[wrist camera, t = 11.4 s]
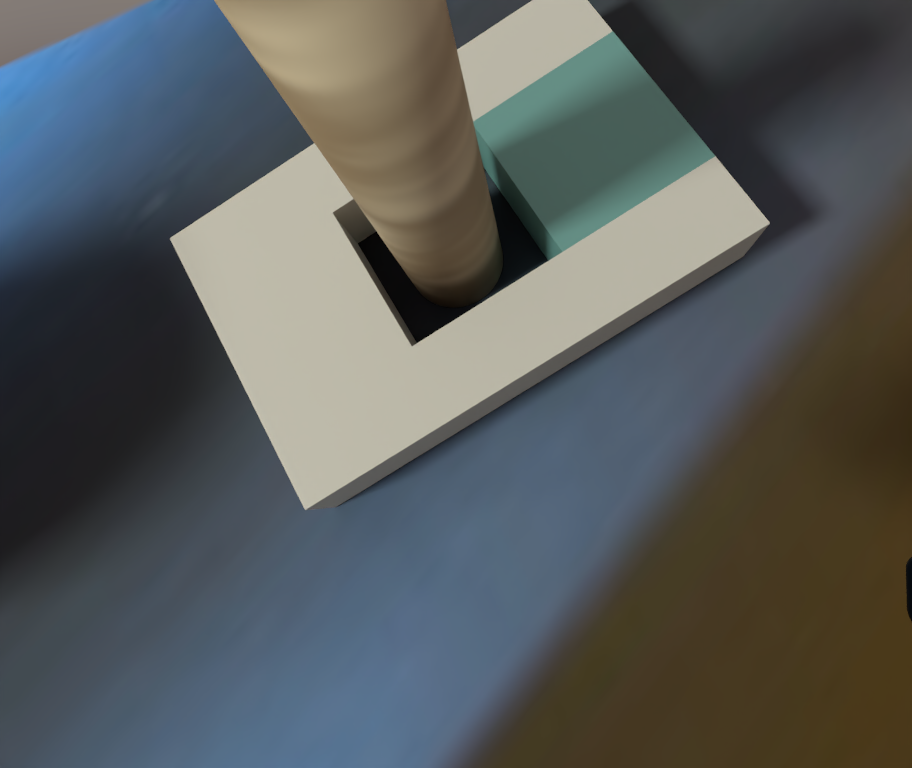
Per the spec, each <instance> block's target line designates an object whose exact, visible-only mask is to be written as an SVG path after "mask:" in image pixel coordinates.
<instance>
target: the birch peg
mask: <svg viewBox="0 0 912 768" xmlns="http://www.w3.org/2000/svg"><path fill="white" fill-rule="evenodd" d="M214 1H215V2H216V4H217V5H218V6H219V8H220V9H221V11H222V12H223V13H224V15H225V16H226V18H227V19H228V21H229V22H230V23H231V25H232V26H233V28H234V29H235V31H236V32H237V33H238V35H239V36H240V38H241V39H242V41H243V42H244V43H245V45H246V46H247V48H248V49H249V51H250V52H251V53H252V55H253V56H254V58H255V59H256V60H257V62H258V63H259V65H260V66H261V68H262V69H263V70H264V72H265V73H266V75H267V76H268V78H269V79H270V80H271V82H272V83H273V85H274V86H275V88H276V89H277V90H278V92H279V93H280V95H281V96H282V98H283V99H284V100H285V102H286V103H287V105H288V106H289V108H290V109H291V110H292V112H293V113H294V115H295V116H296V117H297V119H298V120H299V122H300V123H301V125H302V126H303V127H304V129H305V130H306V132H307V133H308V135H309V136H310V137H311V139H312V140H313V142H314V143H315V145H316V146H317V147H318V149H319V150H320V152H321V153H322V155H323V156H324V157H325V159H326V160H327V162H328V163H329V164H330V166H331V167H332V169H333V170H334V172H335V173H336V174H337V176H338V177H339V179H340V180H341V182H342V183H343V184H344V186H345V187H346V189H347V190H348V192H349V193H350V194H351V196H352V197H353V199H354V200H355V202H356V203H357V204H358V206H359V207H360V209H361V210H362V211H363V213H364V214H365V216H366V217H367V219H368V220H369V221H370V223H371V224H372V226H373V227H374V229H375V230H376V231H377V233H378V234H379V236H380V237H381V239H382V240H383V241H384V243H385V244H386V246H387V247H388V249H389V250H390V251H391V253H392V254H393V256H394V257H395V259H396V260H397V261H398V263H399V264H400V266H401V267H402V268H403V270H404V271H405V273H406V274H407V276H408V277H409V278H410V280H411V281H412V283H413V284H414V286H415V287H416V288H417V290H418V291H419V293H420V294H421V295H422V296H423V297H425V298H426V299H427V300H429V301H430V302H432V303H434V304H436V305H439V306H443V307H449V308H458V307H464V306H468V305H471V304H474V303H476V302H478V301H479V300H481V299H482V298H484V297H485V296H486V295H487V294H488V293H490V291H491V290H492V289H493V288H494V287H495V285H496V284H497V282H498V280H499V278H500V275H501V272H502V268H503V251H502V247H501V242H500V238H499V234H498V229H497V225H496V220H495V216H494V212H493V207H492V203H491V198H490V194H489V189H488V185H487V181H486V176H485V172H484V167H483V163H482V159H481V154H480V150H479V145H478V141H477V136H476V132H475V128H474V123H473V119H472V114H471V110H470V106H469V101H468V97H467V92H466V88H465V83H464V79H463V75H462V70H461V66H460V61H459V57H458V53H457V48H456V44H455V39H454V35H453V30H452V26H451V22H450V17H449V13H448V8H447V4H446V0H214Z"/></svg>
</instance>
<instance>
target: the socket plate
mask: <svg viewBox="0 0 912 768" xmlns="http://www.w3.org/2000/svg"><path fill="white" fill-rule="evenodd" d="M457 53H458V57H459V61H460V66H461V70H462V75H463V79H464V83H465V88H466V92H467V97H468V101H469V106H470V110H471V114H472V119H473V123H474V128H475V132H476V136H477V141H478V145H479V150H480V154H481V159H482V163H483V167H484V168H485V170H486V171H487V173H488V174H489V176H490V177H491V179H492V180H493V182H494V183H495V184H496V186H497V187H498V189H499V190H500V192H501V193H502V195H503V196H504V197H505V199H506V200H507V202H508V203H509V205H510V206H511V208H512V209H513V211H514V212H515V213H516V215H517V216H518V218H519V219H520V221H521V222H522V224H523V225H524V227H525V228H526V229H527V231H528V232H529V234H530V235H531V237H532V238H533V240H534V241H535V242H536V244H537V245H538V247H539V248H540V250H541V251H542V253H543V254H544V256H545V257H546V258H547V260H548V261H547V262H546V263H544V264H543V265H541V266H539V267H538V268H536V269H535V270H533V271H531V272H530V273H528V274H527V275H525V276H523V277H522V278H520V279H519V280H517V281H516V282H514V283H512V284H511V285H509V286H508V287H506V288H504V289H503V290H501V291H500V292H498V293H496V294H495V295H493V296H492V297H490V298H488V299H487V300H485V301H484V302H482V303H480V304H479V305H477V306H476V307H474V308H472V309H471V310H469V311H468V312H466V313H464V314H463V315H461V316H460V317H458V318H457V319H455V320H453V321H452V322H450V323H449V324H447V325H445V326H444V327H442V328H441V329H439V330H437V331H436V332H434V333H433V334H431V335H429V336H428V337H426V338H425V339H423V340H421V341H420V342H418V343H417V342H416V341H415V339H414V337H413V336H412V334H411V332H410V331H409V329H408V327H407V325H406V324H405V322H404V320H403V319H402V317H401V315H400V314H399V312H398V310H397V309H396V307H395V305H394V304H393V302H392V300H391V299H390V297H389V295H388V294H387V292H386V290H385V289H384V287H383V285H382V283H381V282H380V280H379V278H378V277H377V275H376V273H375V272H374V270H373V268H372V267H371V265H370V263H369V262H368V260H367V258H366V257H365V255H364V253H363V252H362V250H361V248H360V247H359V245H358V243H359V242H361V241H362V240H364V239H366V238H367V237H369V236H370V235H372V234H373V233H375V232H376V230H375V229H374V227H373V226H372V224H371V223H370V221H369V220H368V219H367V217H366V216H365V214H364V213H363V211H362V210H361V209H360V207H359V206H358V204H357V203H356V202H355V200H354V199H353V197H352V196H351V194H350V193H349V192H348V190H347V189H346V187H345V186H344V184H343V183H342V182H341V180H340V179H339V177H338V176H337V174H336V173H335V172H334V170H333V169H332V167H331V166H330V164H329V163H328V162H327V160H326V159H325V157H324V156H323V155H322V153H321V152H320V150H319V149H318V147H317V146H316V145H315V143H314V144H313V145H311V146H310V147H308V148H307V149H305V150H304V151H302V152H301V153H299V154H297V155H296V156H294V157H293V158H291V159H290V160H288V161H287V162H285V163H284V164H282V165H281V166H279V167H278V168H276V169H275V170H273V171H272V172H270V173H269V174H267V175H265V176H264V177H262V178H261V179H259V180H258V181H256V182H255V183H253V184H252V185H250V186H249V187H247V188H246V189H244V190H243V191H241V192H240V193H238V194H236V195H235V196H233V197H232V198H230V199H229V200H227V201H226V202H224V203H223V204H221V205H220V206H218V207H217V208H215V209H214V210H212V211H211V212H209V213H208V214H206V215H204V216H203V217H201V218H200V219H198V220H197V221H195V222H194V223H192V224H191V225H189V226H188V227H186V228H185V229H183V230H182V231H180V232H179V233H177V234H176V235H174V236H172V237H171V238H170V240H171V242H172V244H173V246H174V248H175V250H176V252H177V254H178V256H179V258H180V260H181V262H182V264H183V266H184V268H185V270H186V272H187V274H188V276H189V278H190V280H191V282H192V284H193V286H194V288H195V290H196V292H197V294H198V296H199V298H200V300H201V302H202V304H203V306H204V308H205V310H206V312H207V314H208V316H209V318H210V320H211V322H212V324H213V326H214V328H215V330H216V332H217V334H218V336H219V338H220V340H221V342H222V344H223V346H224V348H225V350H226V352H227V354H228V356H229V358H230V360H231V362H232V364H233V366H234V368H235V370H236V372H237V374H238V376H239V378H240V380H241V382H242V384H243V386H244V388H245V390H246V392H247V394H248V396H249V398H250V400H251V402H252V404H253V406H254V408H255V410H256V412H257V414H258V416H259V418H260V420H261V422H262V424H263V426H264V428H265V430H266V432H267V434H268V436H269V438H270V441H271V443H272V445H273V447H274V449H275V451H276V453H277V455H278V457H279V459H280V461H281V463H282V465H283V467H284V469H285V471H286V473H287V475H288V477H289V479H290V481H291V483H292V485H293V487H294V489H295V491H296V493H297V495H298V497H299V499H300V501H301V503H302V505H303V507H304V509H305V510H311V509H322V508H333V507H337V506H339V505H340V504H342V503H343V502H345V501H347V500H348V499H350V498H352V497H353V496H355V495H356V494H358V493H360V492H361V491H363V490H365V489H366V488H368V487H369V486H371V485H373V484H374V483H376V482H378V481H379V480H381V479H382V478H384V477H386V476H387V475H389V474H391V473H392V472H394V471H395V470H397V469H399V468H400V467H402V466H404V465H405V464H407V463H408V462H410V461H412V460H413V459H415V458H417V457H418V456H420V455H421V454H423V453H425V452H426V451H428V450H430V449H431V448H433V447H434V446H436V445H438V444H439V443H441V442H443V441H444V440H446V439H447V438H449V437H451V436H452V435H454V434H456V433H457V432H459V431H460V430H462V429H464V428H465V427H467V426H469V425H470V424H472V423H474V422H475V421H477V420H478V419H480V418H482V417H483V416H485V415H487V414H488V413H490V412H491V411H493V410H495V409H496V408H498V407H500V406H501V405H503V404H504V403H506V402H508V401H509V400H511V399H513V398H514V397H516V396H517V395H519V394H521V393H522V392H524V391H526V390H527V389H529V388H530V387H532V386H534V385H535V384H537V383H539V382H540V381H542V380H543V379H545V378H547V377H548V376H550V375H552V374H553V373H555V372H556V371H558V370H560V369H561V368H563V367H565V366H566V365H568V364H569V363H571V362H573V361H574V360H576V359H578V358H579V357H581V356H582V355H584V354H586V353H587V352H589V351H591V350H592V349H594V348H595V347H597V346H599V345H600V344H602V343H604V342H605V341H607V340H608V339H610V338H612V337H613V336H615V335H617V334H618V333H620V332H621V331H623V330H625V329H626V328H628V327H630V326H631V325H633V324H634V323H636V322H638V321H639V320H641V319H643V318H644V317H646V316H648V315H649V314H651V313H652V312H654V311H656V310H657V309H659V308H661V307H662V306H664V305H665V304H667V303H669V302H670V301H672V300H674V299H675V298H677V297H678V296H680V295H682V294H683V293H685V292H687V291H688V290H690V289H691V288H693V287H695V286H696V285H698V284H700V283H701V282H703V281H704V280H706V279H708V278H709V277H711V276H713V275H714V274H716V273H717V272H719V271H721V270H722V269H724V268H726V267H727V266H729V265H730V264H732V263H734V262H735V261H737V260H739V259H740V258H742V257H743V256H744V255H745V254H746V252H747V251H748V250H749V249H750V248H751V246H752V245H753V244H754V243H755V241H756V240H757V239H758V238H759V236H760V235H761V234H762V233H763V232H764V230H765V229H766V228H767V227H768V225H769V224H770V222H769V221H768V220H767V219H766V217H765V216H764V215H763V214H762V212H761V211H760V210H759V209H758V208H757V206H756V205H755V204H754V203H753V201H752V200H751V199H750V198H749V197H748V195H747V194H746V193H745V192H744V191H743V189H742V188H741V187H740V186H739V184H738V183H737V182H736V181H735V180H734V178H733V177H732V176H731V175H730V173H729V172H728V171H727V170H726V169H725V167H724V166H723V165H722V164H721V162H720V161H719V160H718V159H717V158H716V156H715V155H714V154H713V153H712V151H711V150H710V149H709V148H708V147H707V145H706V144H705V143H704V142H703V141H702V139H701V138H700V137H699V136H698V134H697V133H696V132H695V131H694V130H693V128H692V127H691V126H690V125H689V123H688V122H687V121H686V120H685V119H684V117H683V116H682V115H681V114H680V112H679V111H678V110H677V109H676V108H675V106H674V105H673V104H672V103H671V101H670V100H669V99H668V98H667V97H666V95H665V94H664V93H663V92H662V91H661V89H660V88H659V87H658V86H657V84H656V83H655V82H654V81H653V80H652V78H651V77H650V76H649V75H648V73H647V72H646V71H645V70H644V69H643V67H642V66H641V65H640V64H639V62H638V61H637V60H636V59H635V58H634V56H633V55H632V54H631V53H630V51H629V50H628V49H627V48H626V47H625V45H624V44H623V43H622V42H621V41H620V39H619V38H618V37H617V36H616V34H615V33H614V32H613V31H612V30H611V28H610V27H609V26H608V25H607V23H606V22H605V21H604V20H603V19H602V17H601V16H600V15H599V14H598V12H597V11H596V10H595V9H594V8H593V6H592V5H591V4H590V3H589V1H588V0H532V1H531V2H529V3H528V4H526V5H525V6H523V7H522V8H520V9H518V10H517V11H515V12H514V13H512V14H511V15H509V16H508V17H506V18H505V19H503V20H502V21H500V22H499V23H497V24H496V25H494V26H493V27H491V28H490V29H488V30H486V31H485V32H483V33H482V34H480V35H479V36H477V37H476V38H474V39H473V40H471V41H470V42H468V43H467V44H465V45H464V46H462V47H461V48H459V49H458V50H457Z"/></svg>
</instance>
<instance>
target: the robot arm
mask: <svg viewBox="0 0 912 768" xmlns="http://www.w3.org/2000/svg"><path fill="white" fill-rule="evenodd" d="M906 589H907V611H908V614H909V617H910V619H911V621H912V557H911V558H910V559H909V560H908V562H907V564H906Z"/></svg>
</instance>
